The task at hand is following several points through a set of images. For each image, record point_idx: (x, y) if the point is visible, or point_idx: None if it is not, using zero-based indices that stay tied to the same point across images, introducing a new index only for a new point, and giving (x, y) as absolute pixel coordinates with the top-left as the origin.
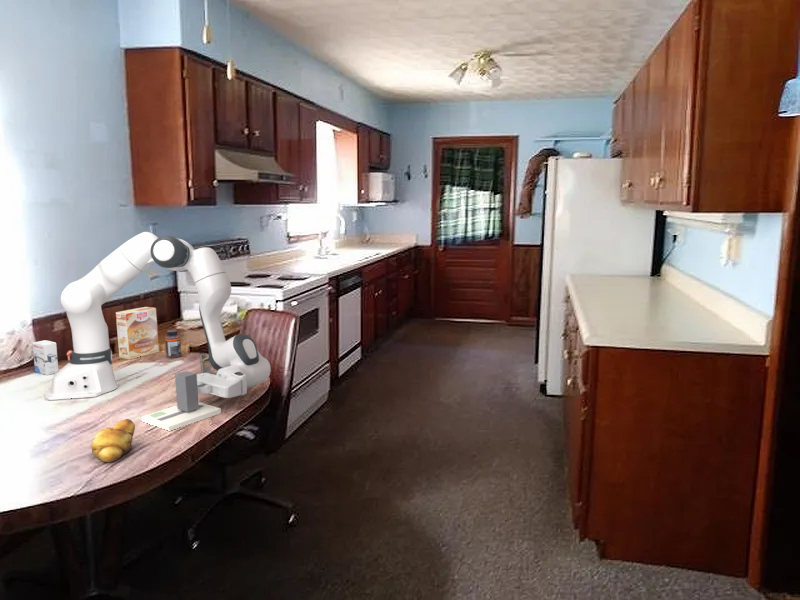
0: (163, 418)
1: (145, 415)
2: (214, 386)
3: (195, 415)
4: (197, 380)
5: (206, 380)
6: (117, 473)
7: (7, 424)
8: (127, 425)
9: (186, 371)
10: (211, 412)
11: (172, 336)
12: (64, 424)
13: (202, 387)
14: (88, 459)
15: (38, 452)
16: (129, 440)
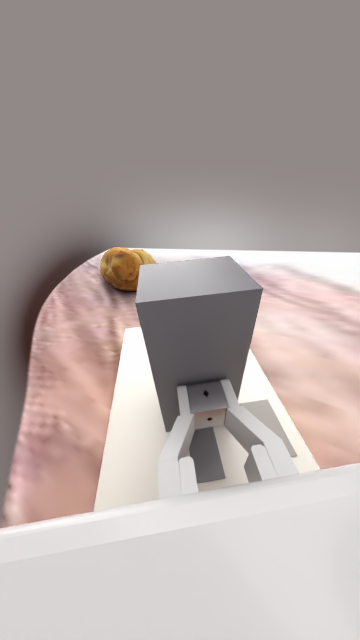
0: None
1: None
2: (94, 511)
3: (128, 396)
4: (344, 468)
5: (283, 538)
6: (81, 277)
7: (320, 252)
8: (113, 256)
9: (249, 286)
10: (102, 463)
11: None
12: (288, 273)
13: (174, 428)
14: None
15: (202, 258)
16: (105, 273)
